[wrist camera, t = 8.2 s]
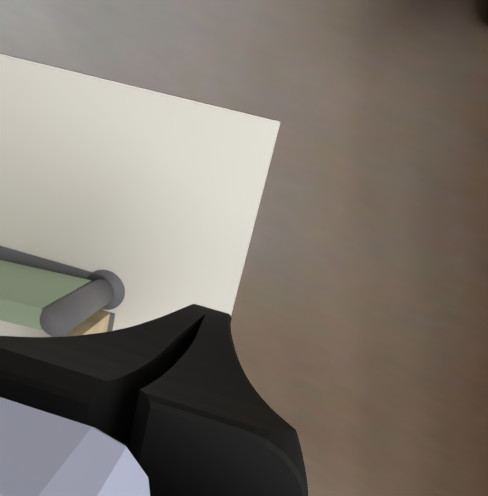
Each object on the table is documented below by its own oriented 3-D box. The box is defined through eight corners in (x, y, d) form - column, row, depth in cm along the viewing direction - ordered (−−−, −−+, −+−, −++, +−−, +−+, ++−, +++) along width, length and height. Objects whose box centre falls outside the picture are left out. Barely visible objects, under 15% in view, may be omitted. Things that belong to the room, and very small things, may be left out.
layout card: (196, 451, 24) (194, 457, 24) (-65, 367, 26) (-72, 371, 25) (280, 122, 19) (280, 121, 18) (-57, 41, 20) (-66, 37, 20)
